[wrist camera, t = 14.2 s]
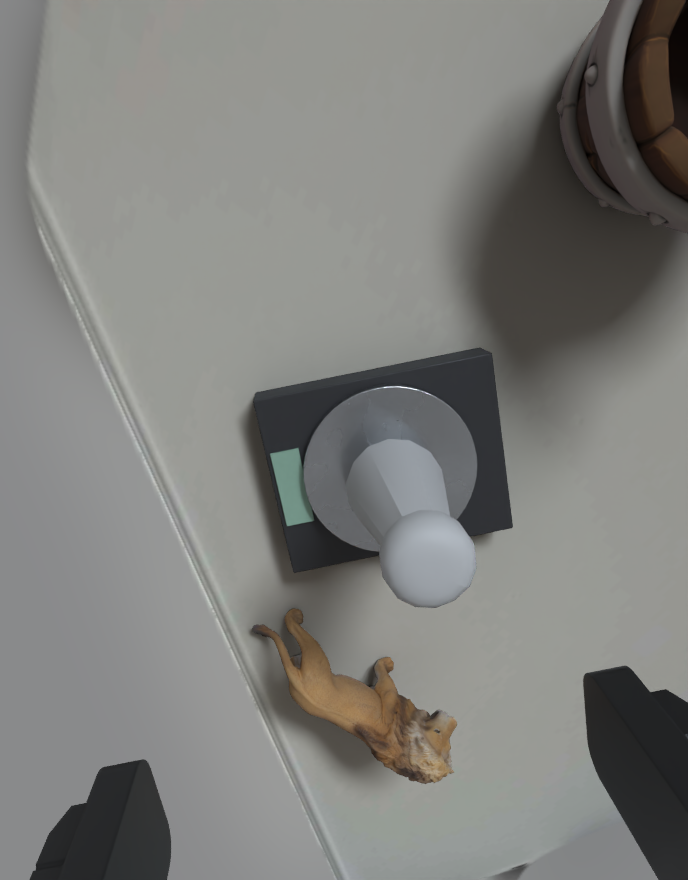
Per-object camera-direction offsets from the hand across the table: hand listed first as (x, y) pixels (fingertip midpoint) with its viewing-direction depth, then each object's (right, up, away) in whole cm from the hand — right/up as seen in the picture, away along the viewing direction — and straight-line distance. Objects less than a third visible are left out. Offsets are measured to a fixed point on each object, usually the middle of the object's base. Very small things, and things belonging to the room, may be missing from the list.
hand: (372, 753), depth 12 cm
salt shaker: (+2, +4, +29) cm, 29 cm away
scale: (+2, +5, +32) cm, 32 cm away
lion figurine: (0, -10, +36) cm, 38 cm away
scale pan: (+2, +4, +29) cm, 29 cm away
